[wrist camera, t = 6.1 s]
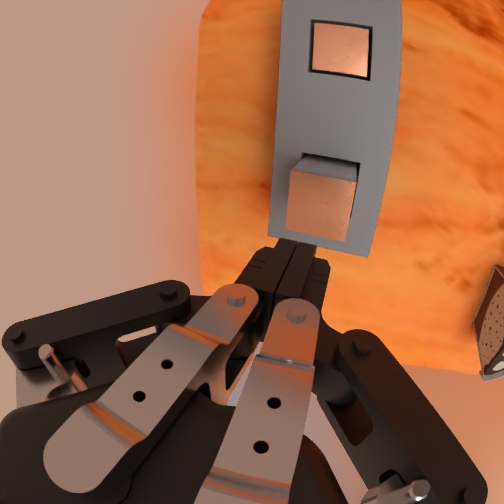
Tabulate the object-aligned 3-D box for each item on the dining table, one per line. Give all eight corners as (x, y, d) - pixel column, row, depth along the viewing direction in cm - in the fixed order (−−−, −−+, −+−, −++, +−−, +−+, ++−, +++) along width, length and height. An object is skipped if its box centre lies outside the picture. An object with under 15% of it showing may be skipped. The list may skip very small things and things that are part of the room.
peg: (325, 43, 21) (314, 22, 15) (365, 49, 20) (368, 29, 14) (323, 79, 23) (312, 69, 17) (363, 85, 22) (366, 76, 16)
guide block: (302, 14, 20) (283, -14, 14) (390, 25, 18) (401, -1, 11) (288, 205, 32) (267, 235, 25) (366, 222, 29) (367, 257, 23)
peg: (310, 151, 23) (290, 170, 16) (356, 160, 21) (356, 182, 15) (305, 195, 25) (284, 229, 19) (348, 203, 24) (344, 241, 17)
